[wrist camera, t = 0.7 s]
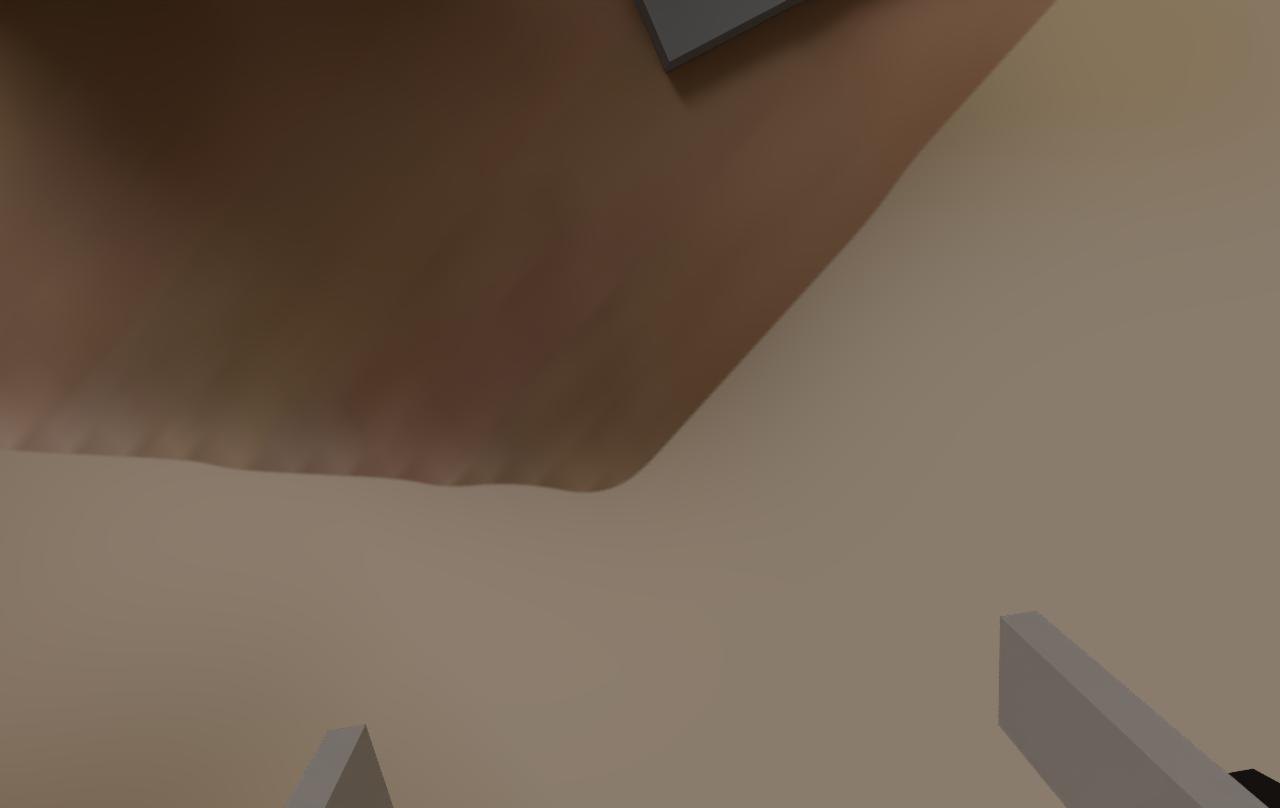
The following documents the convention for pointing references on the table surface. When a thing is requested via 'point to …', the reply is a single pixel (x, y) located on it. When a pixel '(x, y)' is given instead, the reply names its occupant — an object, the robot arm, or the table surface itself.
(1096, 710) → the robot arm
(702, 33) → the dial plate
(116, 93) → the table surface
